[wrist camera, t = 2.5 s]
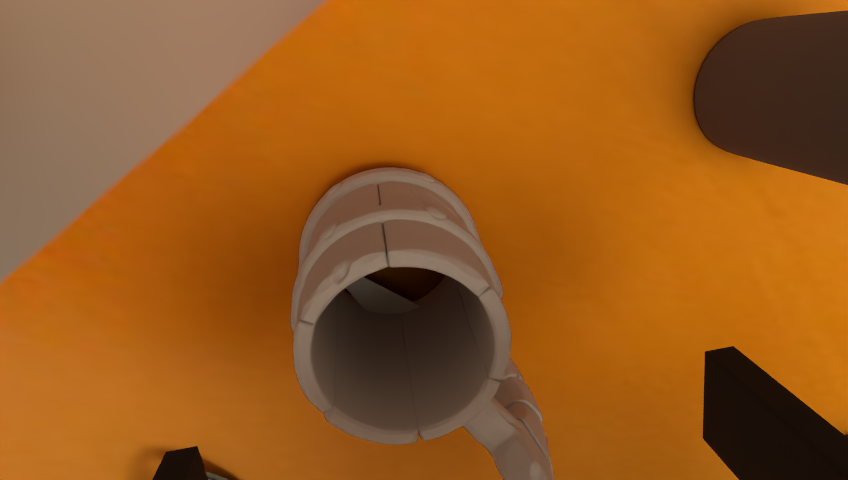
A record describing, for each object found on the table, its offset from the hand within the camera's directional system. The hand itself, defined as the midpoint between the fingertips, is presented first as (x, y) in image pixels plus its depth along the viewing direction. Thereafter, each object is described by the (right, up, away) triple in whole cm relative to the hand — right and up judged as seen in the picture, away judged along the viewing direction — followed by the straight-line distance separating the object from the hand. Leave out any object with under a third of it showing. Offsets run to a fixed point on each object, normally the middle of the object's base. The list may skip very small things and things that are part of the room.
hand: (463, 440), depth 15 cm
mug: (-1, +4, +12) cm, 12 cm away
